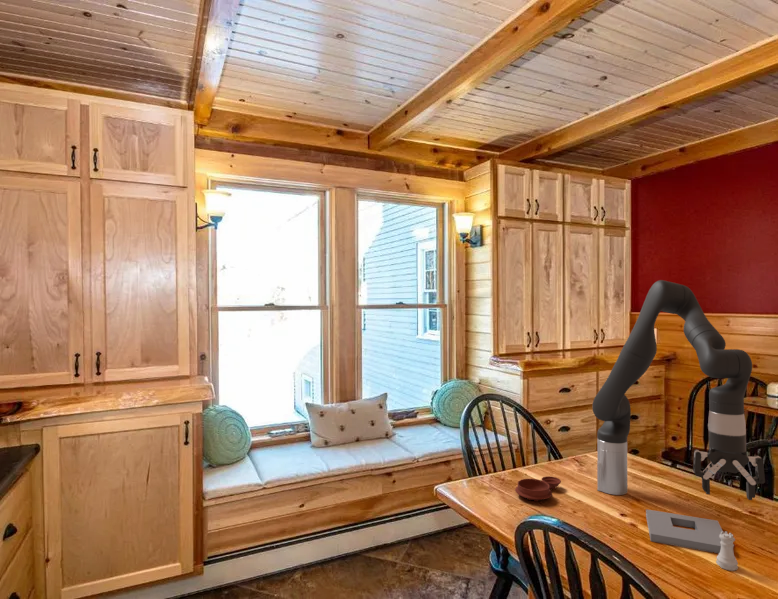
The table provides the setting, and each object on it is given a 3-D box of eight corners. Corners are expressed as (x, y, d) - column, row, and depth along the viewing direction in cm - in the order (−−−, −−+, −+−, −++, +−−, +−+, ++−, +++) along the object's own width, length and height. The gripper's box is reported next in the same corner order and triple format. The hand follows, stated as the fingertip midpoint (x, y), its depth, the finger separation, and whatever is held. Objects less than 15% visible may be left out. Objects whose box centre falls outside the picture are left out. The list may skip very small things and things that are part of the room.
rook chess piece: (711, 561, 118) (711, 529, 118) (728, 560, 118) (728, 528, 118) (725, 572, 114) (725, 538, 114) (743, 571, 114) (743, 538, 114)
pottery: (508, 497, 157) (508, 483, 157) (541, 481, 170) (541, 469, 170) (539, 508, 148) (539, 494, 148) (571, 491, 161) (571, 478, 161)
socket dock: (650, 541, 128) (650, 533, 128) (646, 515, 143) (646, 509, 143) (731, 555, 121) (731, 547, 121) (717, 527, 135) (717, 520, 135)
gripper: (695, 431, 117) (696, 497, 116) (767, 437, 111) (768, 507, 110) (690, 423, 123) (691, 486, 123) (758, 429, 117) (759, 495, 117)
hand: (728, 496), depth 117 cm, fingers open, 8 cm apart
